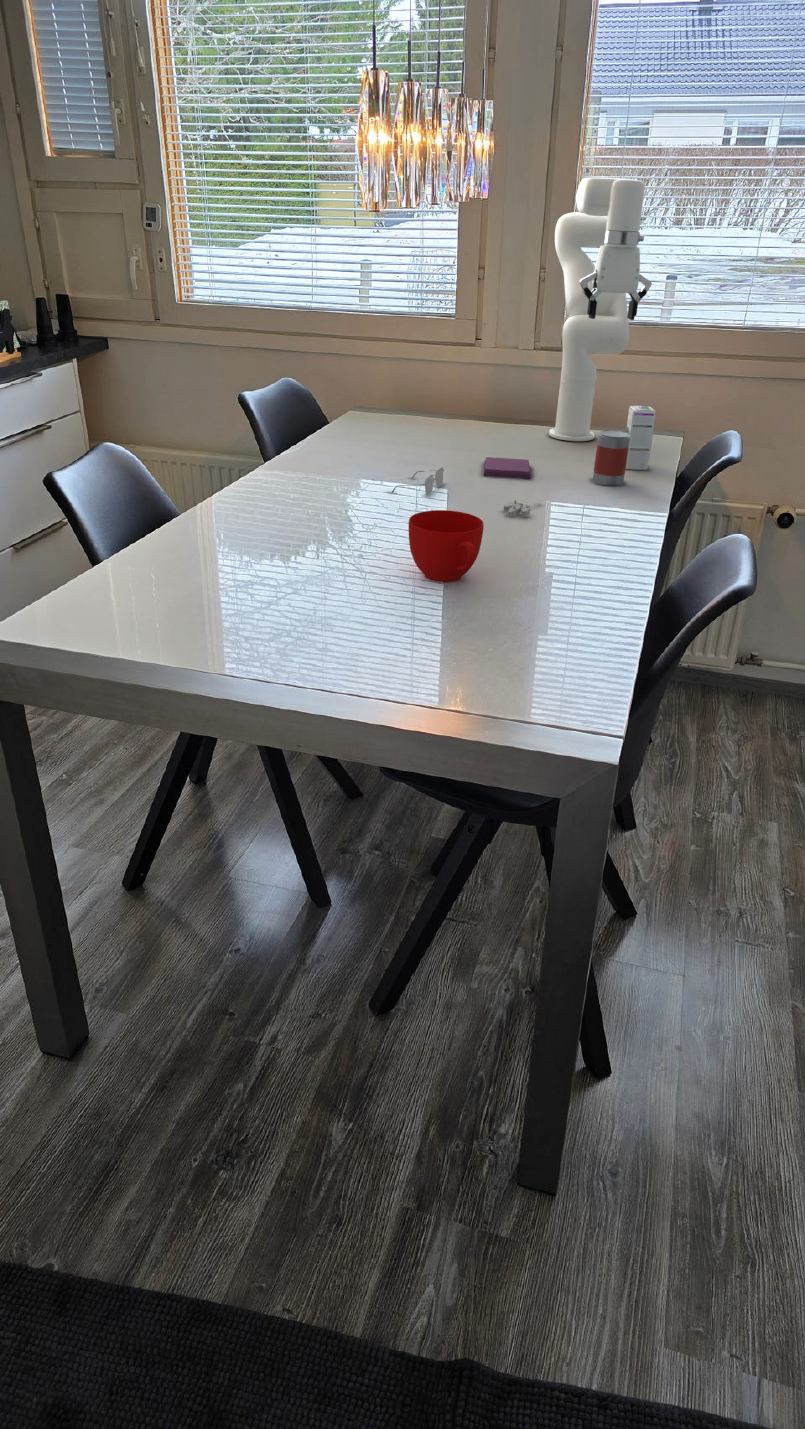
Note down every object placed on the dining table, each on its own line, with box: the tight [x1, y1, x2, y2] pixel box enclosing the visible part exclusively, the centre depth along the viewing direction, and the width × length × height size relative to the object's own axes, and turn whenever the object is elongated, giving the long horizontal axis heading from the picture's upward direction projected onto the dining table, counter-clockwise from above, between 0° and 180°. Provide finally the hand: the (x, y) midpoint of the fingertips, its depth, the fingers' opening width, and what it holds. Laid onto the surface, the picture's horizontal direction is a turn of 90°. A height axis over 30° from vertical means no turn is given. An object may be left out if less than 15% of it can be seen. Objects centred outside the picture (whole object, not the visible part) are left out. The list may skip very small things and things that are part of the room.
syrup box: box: [625, 405, 657, 471], centre depth 248 cm, size 6×6×14 cm
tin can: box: [592, 430, 630, 487], centre depth 235 cm, size 7×7×11 cm
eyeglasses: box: [391, 467, 445, 496], centre depth 226 cm, size 14×8×4 cm, turn 160°
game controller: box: [503, 499, 541, 518], centre depth 213 cm, size 6×12×3 cm, turn 158°
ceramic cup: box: [408, 509, 485, 583], centre depth 173 cm, size 13×17×10 cm
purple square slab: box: [483, 456, 531, 480], centre depth 242 cm, size 12×11×2 cm
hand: (611, 318), depth 239 cm, fingers open, 9 cm apart
